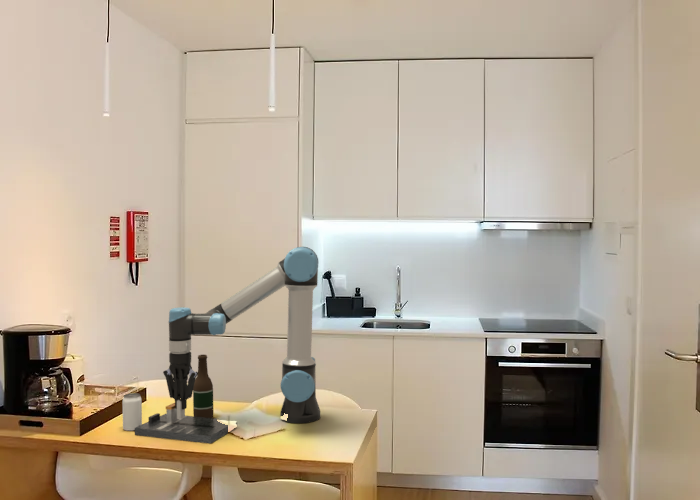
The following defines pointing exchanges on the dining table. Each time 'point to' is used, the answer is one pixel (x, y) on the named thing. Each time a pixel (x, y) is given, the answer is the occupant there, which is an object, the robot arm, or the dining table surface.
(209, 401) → the beer bottle
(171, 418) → the fader knob
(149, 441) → the dining table surface
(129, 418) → the can
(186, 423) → the board
